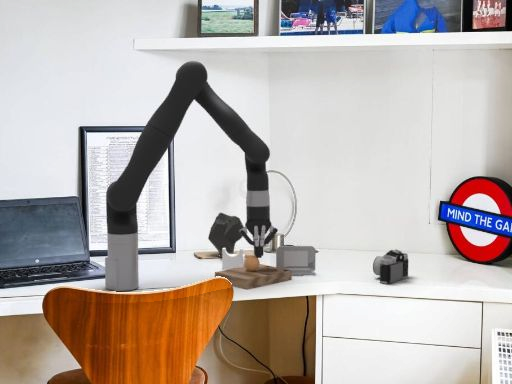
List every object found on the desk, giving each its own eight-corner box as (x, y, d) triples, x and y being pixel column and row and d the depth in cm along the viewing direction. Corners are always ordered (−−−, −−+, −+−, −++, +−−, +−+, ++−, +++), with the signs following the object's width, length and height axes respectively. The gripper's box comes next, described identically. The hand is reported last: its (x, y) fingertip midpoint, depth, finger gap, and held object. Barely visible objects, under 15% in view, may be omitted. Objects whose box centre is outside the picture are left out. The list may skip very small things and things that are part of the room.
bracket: (242, 270, 233) (242, 249, 232) (222, 270, 233) (222, 249, 233) (245, 263, 246) (245, 243, 245) (225, 263, 246) (225, 242, 246)
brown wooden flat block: (246, 289, 204) (246, 279, 204) (214, 281, 215) (214, 272, 214) (291, 279, 218) (291, 270, 217) (259, 272, 228) (259, 263, 228)
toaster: (312, 270, 233) (312, 242, 232) (315, 276, 224) (315, 246, 223) (274, 270, 233) (274, 242, 232) (276, 276, 223) (276, 246, 223)
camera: (390, 273, 228) (390, 244, 227) (414, 277, 222) (414, 247, 222) (365, 280, 217) (366, 250, 216) (390, 285, 211) (390, 253, 210)
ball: (248, 259, 212) (261, 266, 213) (250, 250, 216) (263, 257, 218) (240, 269, 215) (253, 276, 216) (242, 259, 219) (254, 267, 220)
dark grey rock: (245, 254, 262) (245, 209, 260) (246, 262, 246) (246, 213, 245) (209, 254, 261) (208, 209, 260) (207, 262, 246) (207, 213, 244)
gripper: (240, 206, 210) (241, 260, 211) (280, 204, 213) (281, 258, 214) (235, 203, 217) (236, 256, 219) (275, 202, 220) (275, 254, 222)
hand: (258, 257), depth 217 cm, fingers closed
